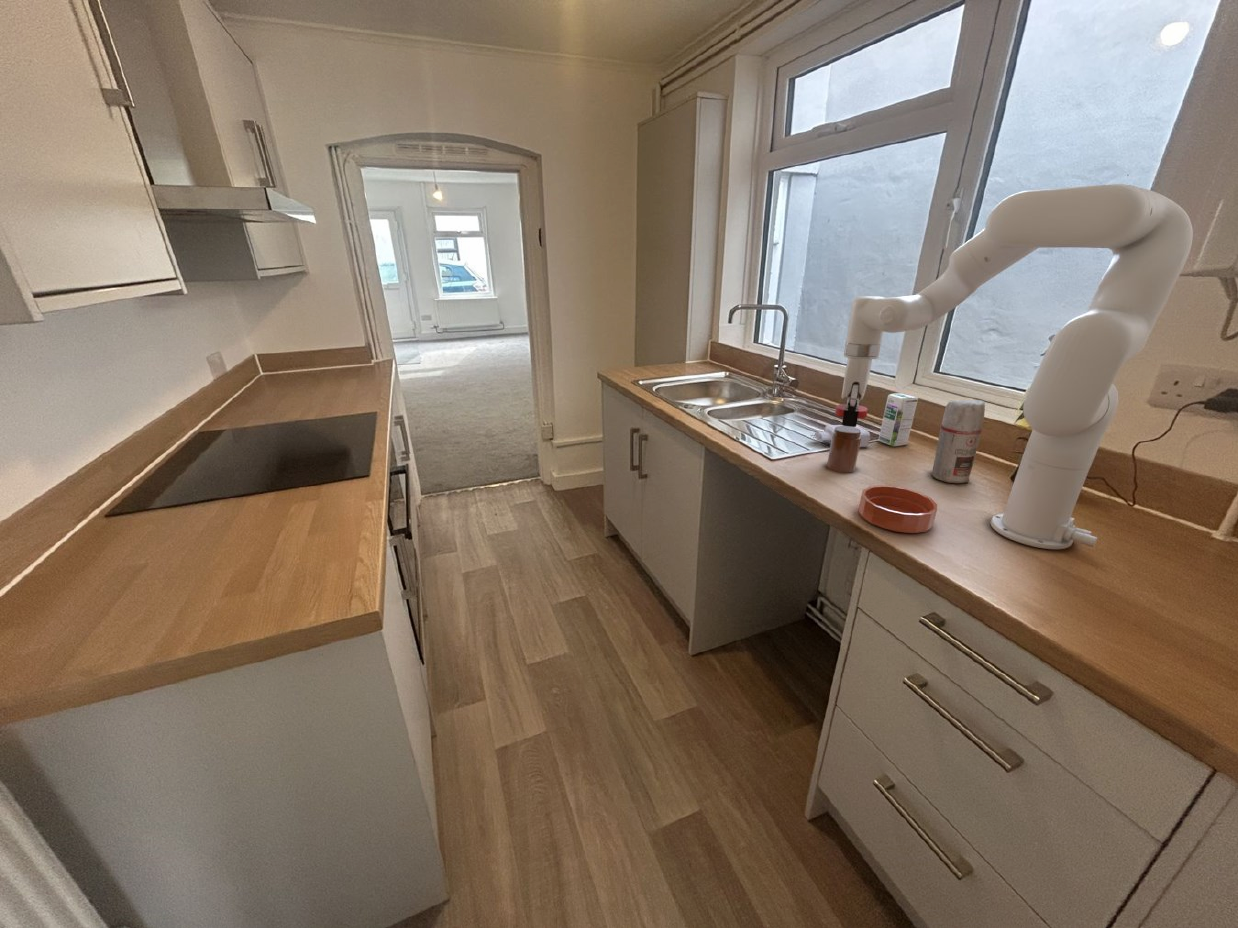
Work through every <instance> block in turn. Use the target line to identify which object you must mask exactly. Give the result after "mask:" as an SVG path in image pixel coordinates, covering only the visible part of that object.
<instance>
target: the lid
mask: <svg viewBox="0 0 1238 928" xmlns="http://www.w3.org/2000/svg"><path fill="white" fill-rule="evenodd" d="M844 409H846V403H841V404H837V405H835V411H834V414H835V415H836V416H838V417H841V418H843V415H844ZM868 410H869V408H868V407H867V406H864V405H861V404H860V405H859V407H858V411H859V413H858V419H859V420H860V419H865V418H867V416H868ZM858 419H857V420H858Z"/></svg>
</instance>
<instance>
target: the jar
mask: <svg viewBox="0 0 1238 928" xmlns="http://www.w3.org/2000/svg"><path fill="white" fill-rule="evenodd" d="M860 434H861V430H860V429H858V428H855V427H850V426H838V427H835V430H834V433H832V439H831V444H829V445H830V446H829V452H828V458H827V463H826V467H827V469H829V470H831V471H834V472H837V473H843V474H849V473H853V472H855V470H856V467H857V461H858V456H859V451H860V448H861V447H860V441H861V436H860Z"/></svg>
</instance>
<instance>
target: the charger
mask: <svg viewBox="0 0 1238 928" xmlns="http://www.w3.org/2000/svg"><path fill="white" fill-rule="evenodd" d="M838 426H843V425H842V424H827V425H825V427H824V430H823V431H816V432H815V433H814V434H810V437H812V439H816V440H817V441H818V442H819V443H821V442H824V443H825V442H827V443H828V444H829V445H831V439H832V433H834V430H835V427H838ZM855 428H858V429H860V430H861V434H860V436H861V441H860V447H859V448H868V447H869V444H870V439H871V432H869V431H868V430H866V429H865V428H864V427H861V426H860V425H858V424H856V427H855Z"/></svg>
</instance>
